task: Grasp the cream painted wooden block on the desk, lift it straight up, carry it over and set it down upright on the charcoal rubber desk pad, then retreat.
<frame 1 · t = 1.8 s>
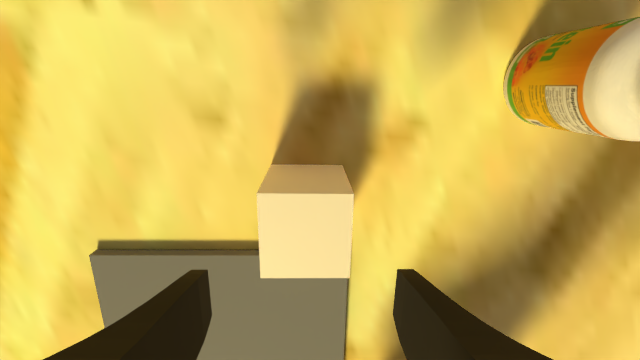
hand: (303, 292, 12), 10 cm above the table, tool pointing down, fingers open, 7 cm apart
desk pad: (229, 318, 25), on the table
supplement bottle: (540, 81, 20), on the table
cream block: (306, 197, 22), on the table
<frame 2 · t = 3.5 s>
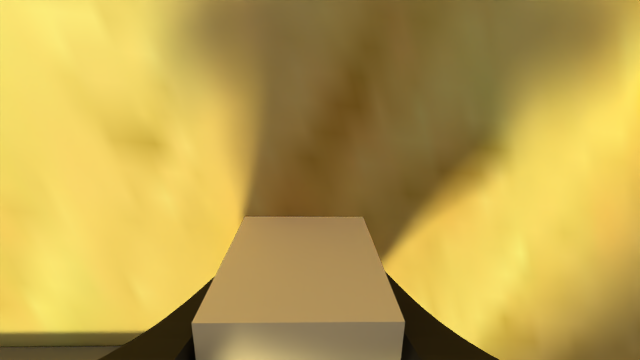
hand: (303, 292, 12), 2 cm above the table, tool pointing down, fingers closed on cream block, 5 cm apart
cream block: (304, 268, 14), on the table, touching gripper
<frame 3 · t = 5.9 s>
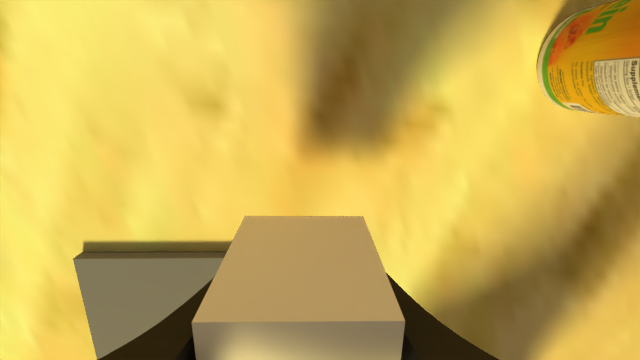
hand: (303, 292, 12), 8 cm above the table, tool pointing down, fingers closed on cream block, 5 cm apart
desk pad: (229, 327, 22), on the table
supplement bottle: (577, 61, 18), on the table
cream block: (304, 267, 14), point 7 cm above the table, touching gripper
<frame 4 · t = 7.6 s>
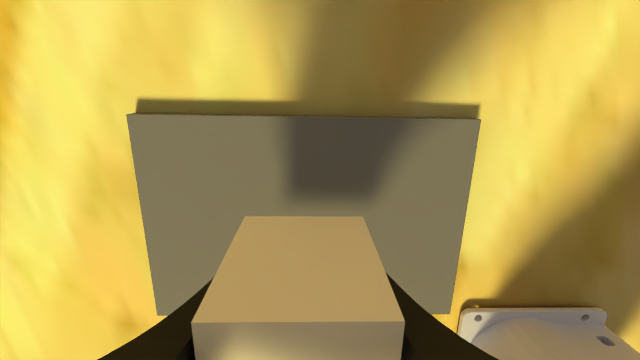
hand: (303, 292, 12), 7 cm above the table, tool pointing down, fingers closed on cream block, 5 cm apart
desk pad: (306, 219, 19), on the table
cream block: (304, 268, 14), point 5 cm above the table, touching gripper
when the fingers open (3 cm above the table, at t = 8.8 s): cream block stays where it is, resting on desk pad.
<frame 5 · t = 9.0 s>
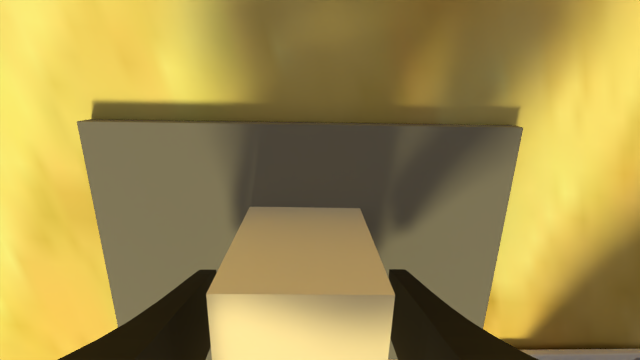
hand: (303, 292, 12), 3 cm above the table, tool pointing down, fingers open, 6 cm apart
desk pad: (304, 248, 15), on the table
cream block: (304, 256, 14), point 1 cm above the table, touching desk pad
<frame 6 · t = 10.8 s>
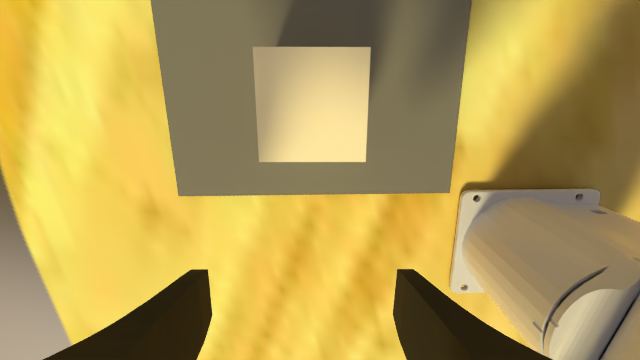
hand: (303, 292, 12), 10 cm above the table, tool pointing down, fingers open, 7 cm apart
desk pad: (313, 101, 20), on the table
cream block: (313, 101, 19), point 1 cm above the table, touching desk pad
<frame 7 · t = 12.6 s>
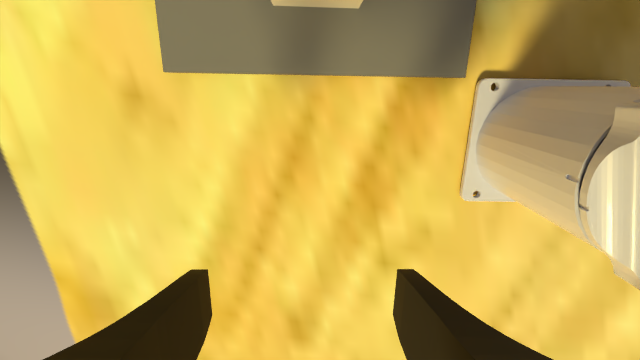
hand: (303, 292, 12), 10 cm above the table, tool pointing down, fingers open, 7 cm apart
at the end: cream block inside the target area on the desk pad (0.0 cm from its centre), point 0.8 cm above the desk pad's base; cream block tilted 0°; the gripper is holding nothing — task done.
